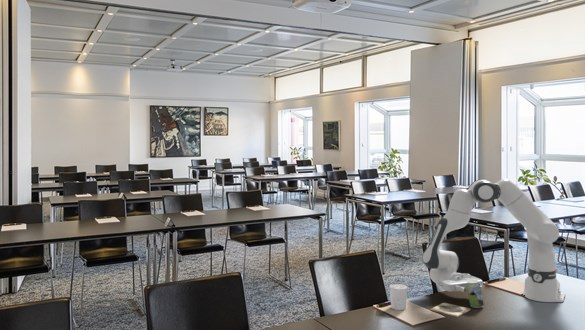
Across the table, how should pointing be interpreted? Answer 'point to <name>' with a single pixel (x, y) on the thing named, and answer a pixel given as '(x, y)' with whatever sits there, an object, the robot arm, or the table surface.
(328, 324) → the table surface
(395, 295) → the white cup
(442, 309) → the birch mat
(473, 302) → the beverage can
